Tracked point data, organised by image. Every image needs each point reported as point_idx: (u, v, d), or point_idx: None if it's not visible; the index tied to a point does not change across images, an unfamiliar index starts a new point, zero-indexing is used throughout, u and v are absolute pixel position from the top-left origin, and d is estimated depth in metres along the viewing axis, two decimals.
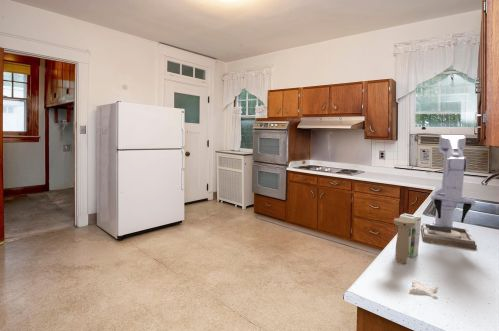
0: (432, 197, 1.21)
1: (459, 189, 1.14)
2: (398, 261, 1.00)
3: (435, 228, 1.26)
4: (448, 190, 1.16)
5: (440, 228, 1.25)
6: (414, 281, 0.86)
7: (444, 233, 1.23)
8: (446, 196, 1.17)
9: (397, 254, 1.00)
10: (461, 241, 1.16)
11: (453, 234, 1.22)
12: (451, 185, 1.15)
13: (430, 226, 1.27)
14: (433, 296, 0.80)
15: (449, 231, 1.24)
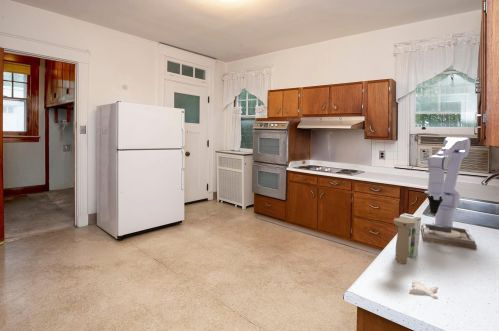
0: None
1: (431, 183, 1.28)
2: (398, 261, 1.00)
3: (435, 228, 1.26)
4: None
5: (440, 228, 1.25)
6: (414, 281, 0.86)
7: (444, 233, 1.23)
8: None
9: (397, 254, 1.00)
10: (461, 241, 1.16)
11: (453, 234, 1.22)
12: (431, 180, 1.28)
13: (430, 226, 1.27)
14: (433, 296, 0.80)
15: (449, 231, 1.24)
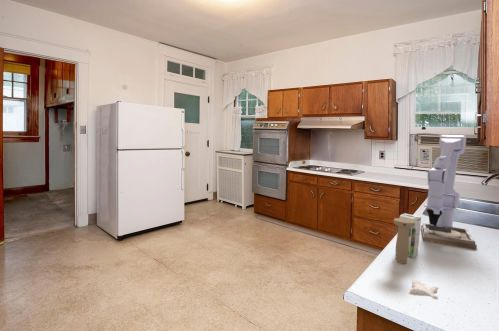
0: None
1: (430, 197, 1.26)
2: (398, 261, 1.00)
3: (435, 228, 1.26)
4: None
5: (440, 228, 1.25)
6: (414, 281, 0.86)
7: (444, 233, 1.23)
8: None
9: (397, 254, 1.00)
10: (461, 241, 1.16)
11: (453, 234, 1.22)
12: (431, 194, 1.26)
13: (430, 226, 1.27)
14: (433, 296, 0.79)
15: (449, 231, 1.24)
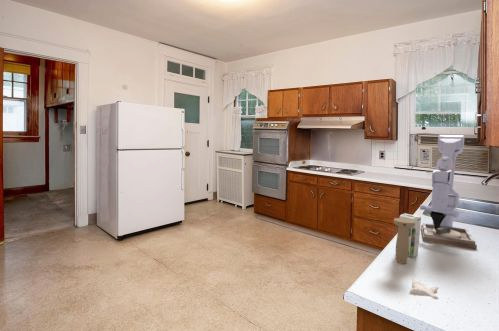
0: (420, 207, 1.28)
1: (442, 201, 1.19)
2: (398, 261, 1.00)
3: (443, 231, 1.22)
4: (432, 200, 1.22)
5: (445, 230, 1.23)
6: (414, 281, 0.86)
7: (452, 234, 1.22)
8: (431, 206, 1.23)
9: (397, 254, 1.00)
10: (461, 241, 1.16)
11: (456, 232, 1.24)
12: (436, 196, 1.21)
13: (440, 230, 1.21)
14: (433, 296, 0.79)
15: (449, 230, 1.25)
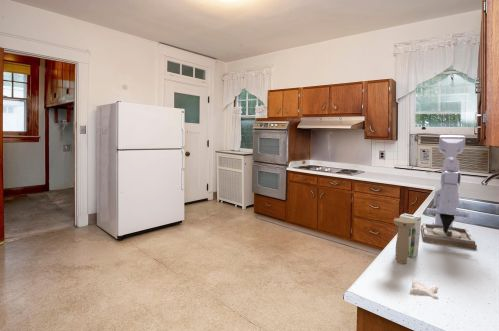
0: (428, 211, 1.22)
1: (455, 202, 1.17)
2: (398, 261, 1.00)
3: None
4: (445, 203, 1.18)
5: None
6: (414, 281, 0.86)
7: (455, 233, 1.23)
8: (442, 210, 1.19)
9: (397, 254, 1.00)
10: (461, 241, 1.16)
11: (453, 231, 1.26)
12: (445, 198, 1.18)
13: None
14: (434, 296, 0.79)
15: None
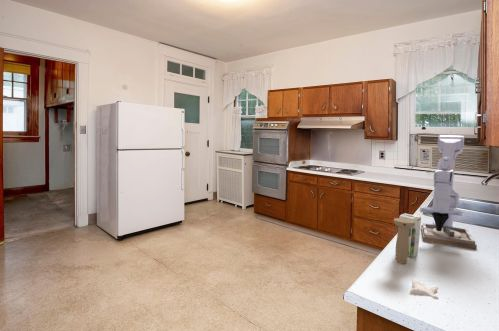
0: (422, 209, 1.22)
1: (448, 201, 1.18)
2: (398, 261, 1.00)
3: None
4: (438, 202, 1.19)
5: None
6: (414, 281, 0.86)
7: (456, 233, 1.23)
8: (436, 208, 1.20)
9: (397, 254, 1.00)
10: (461, 241, 1.16)
11: None
12: (437, 197, 1.19)
13: None
14: (434, 296, 0.79)
15: None
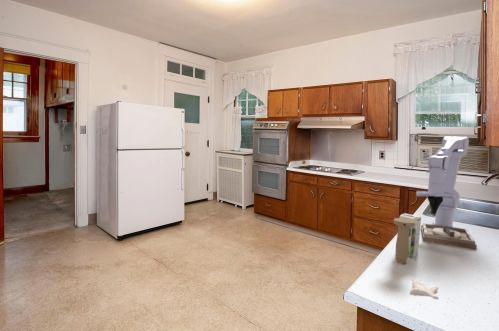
0: (418, 193, 1.30)
1: (442, 185, 1.25)
2: (398, 261, 1.00)
3: None
4: (433, 186, 1.26)
5: None
6: (414, 281, 0.86)
7: (456, 233, 1.23)
8: (431, 192, 1.27)
9: (397, 254, 1.00)
10: (461, 241, 1.16)
11: None
12: (431, 181, 1.27)
13: None
14: (434, 296, 0.79)
15: None
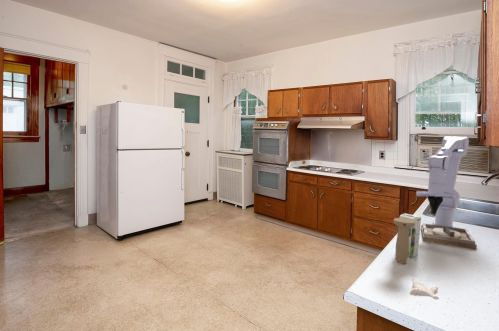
0: (418, 193, 1.30)
1: (442, 185, 1.25)
2: (398, 261, 1.00)
3: None
4: (433, 186, 1.26)
5: None
6: (414, 281, 0.86)
7: (456, 233, 1.23)
8: (431, 192, 1.27)
9: (397, 254, 1.00)
10: (461, 241, 1.16)
11: None
12: (431, 181, 1.27)
13: None
14: (434, 296, 0.79)
15: None
